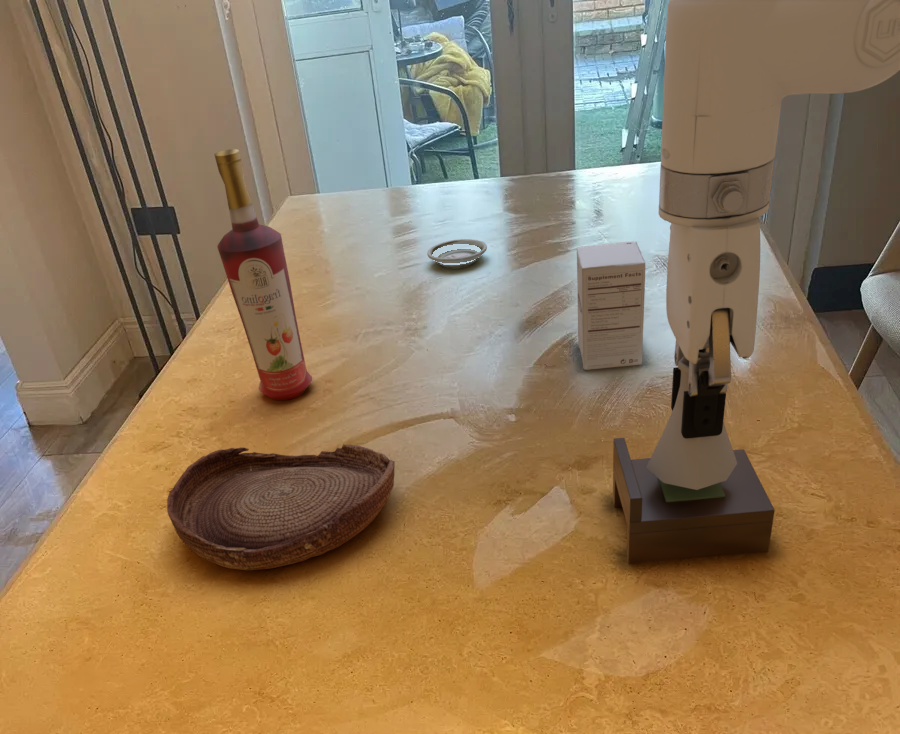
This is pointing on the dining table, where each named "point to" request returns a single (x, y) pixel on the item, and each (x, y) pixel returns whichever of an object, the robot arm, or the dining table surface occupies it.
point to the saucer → (458, 253)
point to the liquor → (261, 288)
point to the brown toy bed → (690, 512)
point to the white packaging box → (610, 304)
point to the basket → (277, 504)
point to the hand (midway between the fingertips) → (695, 420)
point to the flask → (691, 449)
